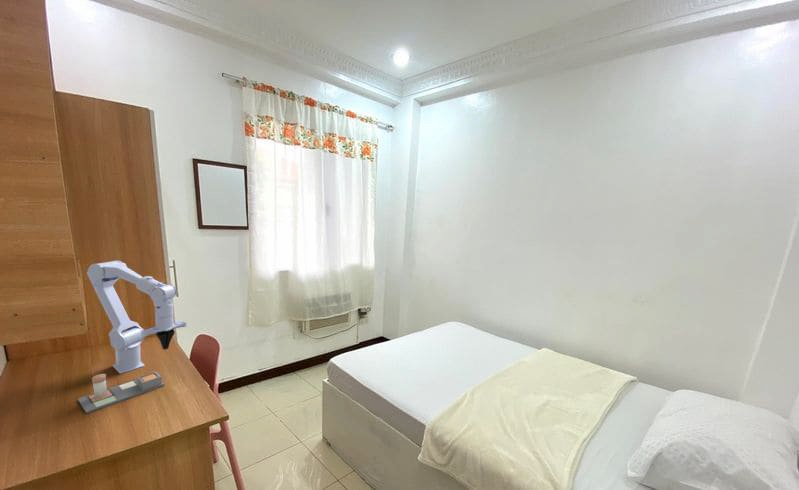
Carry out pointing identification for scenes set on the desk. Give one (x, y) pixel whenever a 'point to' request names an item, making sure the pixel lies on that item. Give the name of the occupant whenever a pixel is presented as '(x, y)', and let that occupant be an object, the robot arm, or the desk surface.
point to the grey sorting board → (121, 393)
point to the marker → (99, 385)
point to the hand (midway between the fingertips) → (165, 348)
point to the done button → (148, 377)
